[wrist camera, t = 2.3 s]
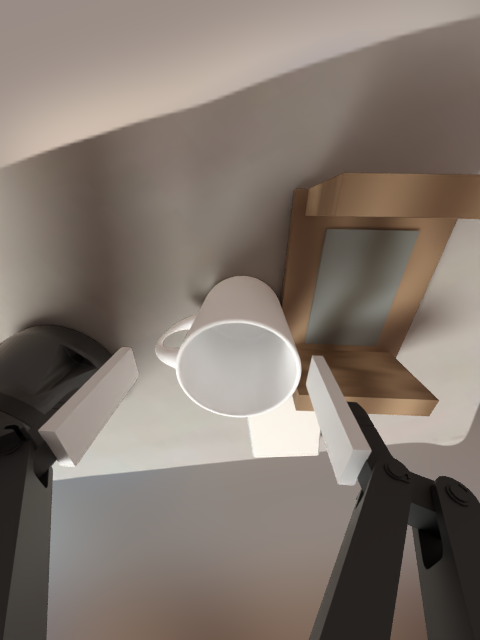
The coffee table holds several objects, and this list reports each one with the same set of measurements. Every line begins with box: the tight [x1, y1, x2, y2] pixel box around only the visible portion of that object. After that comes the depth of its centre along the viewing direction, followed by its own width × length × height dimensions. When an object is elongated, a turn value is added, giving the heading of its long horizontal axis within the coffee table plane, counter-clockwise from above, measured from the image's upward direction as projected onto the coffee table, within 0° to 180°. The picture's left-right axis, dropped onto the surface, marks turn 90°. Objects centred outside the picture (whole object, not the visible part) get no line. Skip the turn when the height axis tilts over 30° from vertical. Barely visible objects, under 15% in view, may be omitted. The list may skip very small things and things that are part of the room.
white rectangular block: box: [247, 396, 321, 458], centre depth 30 cm, size 10×14×3 cm
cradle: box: [281, 173, 480, 416], centre depth 18 cm, size 14×18×8 cm
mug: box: [155, 276, 301, 417], centre depth 19 cm, size 9×12×11 cm
